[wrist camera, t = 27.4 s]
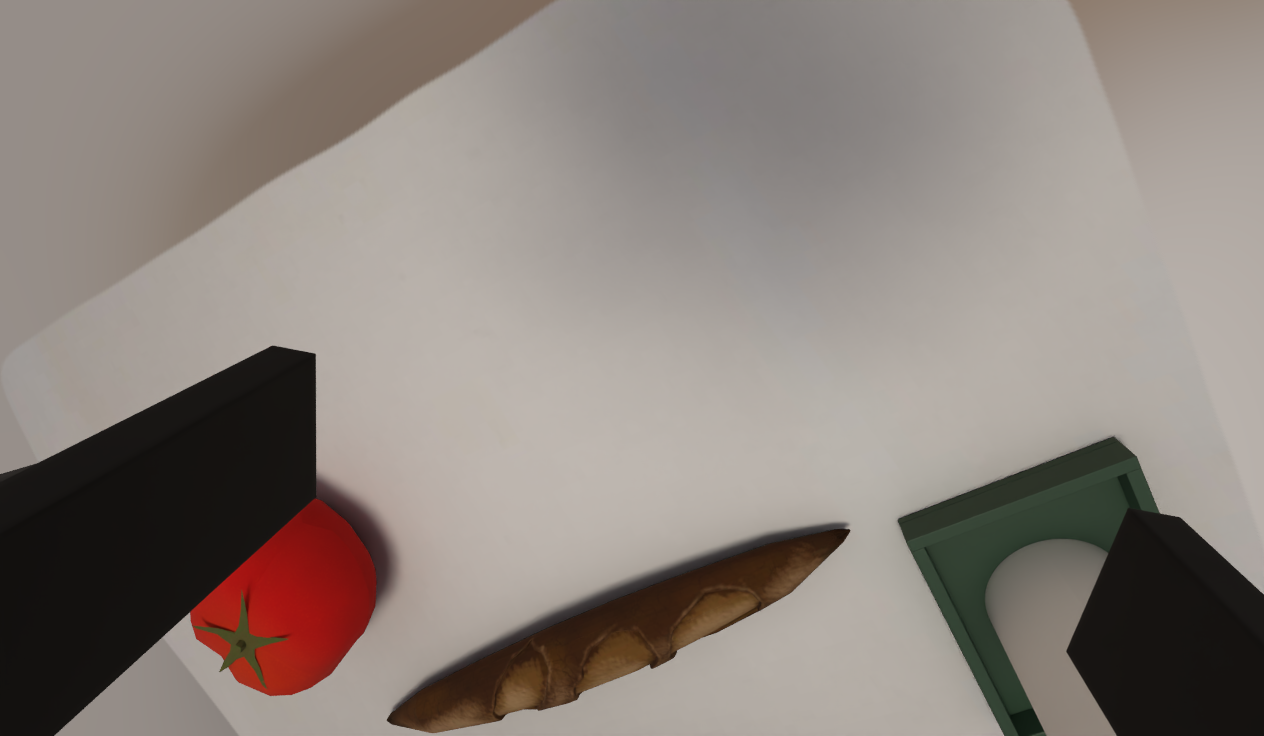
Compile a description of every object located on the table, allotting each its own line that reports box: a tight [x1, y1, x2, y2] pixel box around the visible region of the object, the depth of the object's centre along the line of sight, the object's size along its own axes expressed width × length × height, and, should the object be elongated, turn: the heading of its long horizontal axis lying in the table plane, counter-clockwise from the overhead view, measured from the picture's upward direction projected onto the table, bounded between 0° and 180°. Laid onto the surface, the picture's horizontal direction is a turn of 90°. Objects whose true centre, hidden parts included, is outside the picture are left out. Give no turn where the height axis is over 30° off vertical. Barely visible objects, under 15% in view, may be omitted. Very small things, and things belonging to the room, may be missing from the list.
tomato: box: [190, 499, 377, 696], centre depth 48 cm, size 11×13×10 cm
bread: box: [387, 529, 851, 733], centre depth 50 cm, size 38×5×5 cm, turn 121°
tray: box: [898, 437, 1160, 736], centre depth 45 cm, size 17×13×3 cm
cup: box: [985, 539, 1117, 736], centre depth 38 cm, size 8×8×16 cm
